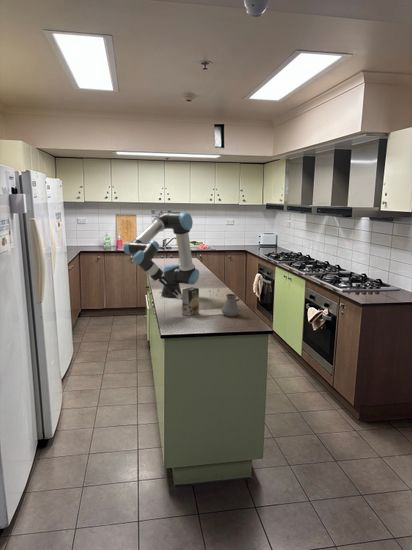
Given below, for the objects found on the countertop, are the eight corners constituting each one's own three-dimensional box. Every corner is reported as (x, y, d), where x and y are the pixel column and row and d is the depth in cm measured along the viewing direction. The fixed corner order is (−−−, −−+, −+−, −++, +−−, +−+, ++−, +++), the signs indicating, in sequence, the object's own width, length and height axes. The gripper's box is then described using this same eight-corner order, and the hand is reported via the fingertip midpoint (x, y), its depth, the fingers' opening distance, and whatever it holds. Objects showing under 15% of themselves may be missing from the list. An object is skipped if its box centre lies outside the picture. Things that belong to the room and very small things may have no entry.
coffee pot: (219, 312, 255) (220, 289, 251) (236, 311, 258) (237, 289, 254) (228, 323, 235) (230, 299, 231) (246, 323, 238) (248, 299, 234)
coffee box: (189, 316, 245) (189, 290, 242) (182, 314, 249) (181, 289, 246) (199, 312, 252) (199, 288, 249) (191, 311, 256) (191, 286, 253)
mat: (195, 310, 258) (195, 310, 258) (221, 309, 264) (221, 308, 264) (201, 316, 247) (201, 315, 247) (228, 314, 253) (228, 313, 253)
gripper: (148, 274, 244) (174, 299, 252) (152, 278, 231) (179, 304, 240) (156, 265, 244) (182, 291, 253) (161, 269, 232) (187, 295, 241)
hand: (180, 297), depth 246 cm, fingers closed
